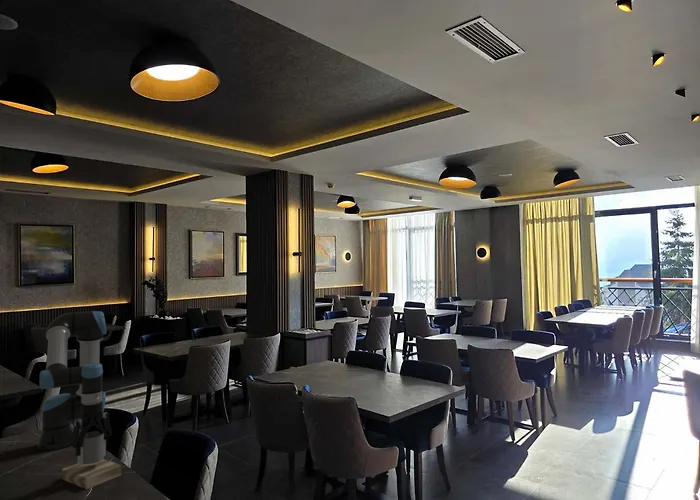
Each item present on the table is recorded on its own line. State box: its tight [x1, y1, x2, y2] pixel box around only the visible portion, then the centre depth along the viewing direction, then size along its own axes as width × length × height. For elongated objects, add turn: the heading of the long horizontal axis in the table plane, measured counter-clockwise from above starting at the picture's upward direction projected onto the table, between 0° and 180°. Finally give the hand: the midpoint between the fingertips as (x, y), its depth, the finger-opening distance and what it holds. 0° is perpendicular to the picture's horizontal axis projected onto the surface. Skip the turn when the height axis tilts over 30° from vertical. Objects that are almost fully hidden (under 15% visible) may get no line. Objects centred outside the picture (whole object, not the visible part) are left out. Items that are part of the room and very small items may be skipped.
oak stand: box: [61, 458, 122, 490], centre depth 186 cm, size 18×14×4 cm
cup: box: [81, 431, 105, 464], centre depth 187 cm, size 8×8×10 cm
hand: (91, 459), depth 186 cm, fingers closed on cup, 8 cm apart
